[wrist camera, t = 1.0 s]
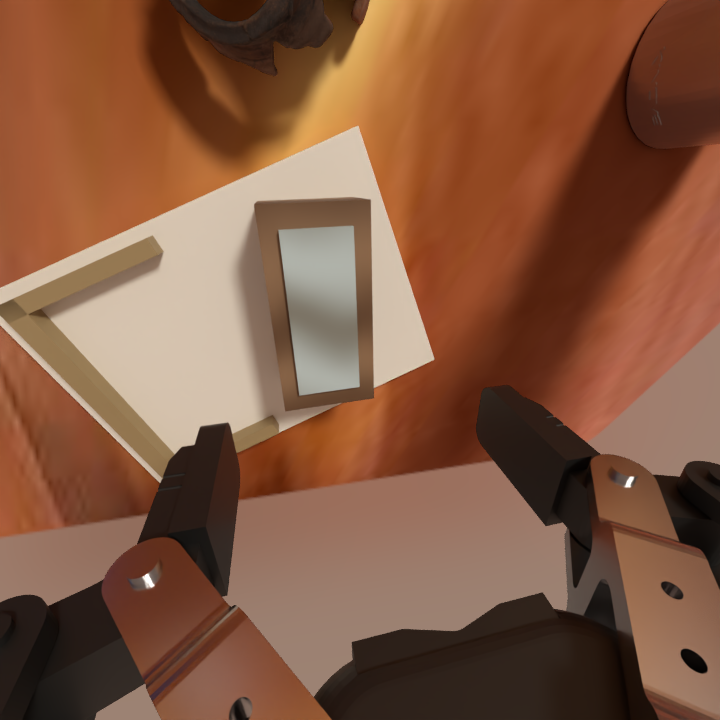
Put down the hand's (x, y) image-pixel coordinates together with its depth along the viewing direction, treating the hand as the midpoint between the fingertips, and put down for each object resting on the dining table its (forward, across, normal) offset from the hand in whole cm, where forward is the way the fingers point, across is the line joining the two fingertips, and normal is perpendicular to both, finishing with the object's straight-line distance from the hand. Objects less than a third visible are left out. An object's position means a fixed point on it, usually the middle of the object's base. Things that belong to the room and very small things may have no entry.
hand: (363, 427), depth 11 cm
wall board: (+16, +5, +2) cm, 17 cm away
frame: (+15, 0, 0) cm, 15 cm away
